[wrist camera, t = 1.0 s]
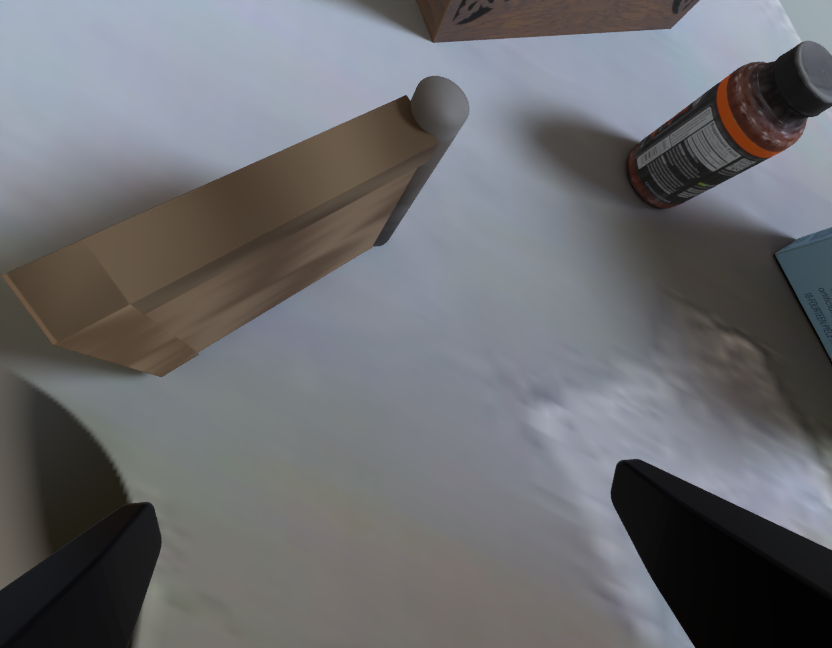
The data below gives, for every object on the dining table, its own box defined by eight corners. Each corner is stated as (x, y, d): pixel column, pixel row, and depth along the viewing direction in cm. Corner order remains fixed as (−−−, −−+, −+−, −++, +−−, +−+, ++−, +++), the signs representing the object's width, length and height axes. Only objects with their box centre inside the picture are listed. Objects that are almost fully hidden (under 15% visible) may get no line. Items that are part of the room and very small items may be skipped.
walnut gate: (377, 208, 24) (446, 68, 14) (397, 236, 24) (479, 115, 14) (138, 343, 19) (-13, 268, 9) (164, 377, 19) (41, 341, 9)
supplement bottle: (656, 136, 35) (822, 16, 24) (691, 198, 34) (873, 104, 24) (610, 156, 32) (771, 32, 22) (647, 221, 32) (827, 129, 22)
